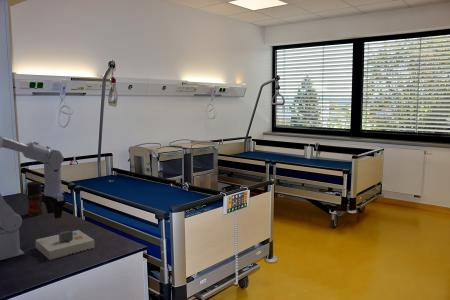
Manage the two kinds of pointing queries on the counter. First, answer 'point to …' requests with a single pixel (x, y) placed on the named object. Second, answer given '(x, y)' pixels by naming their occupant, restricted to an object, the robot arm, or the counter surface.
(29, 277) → the counter surface
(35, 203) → the deodorant
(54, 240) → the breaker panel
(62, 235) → the handle
